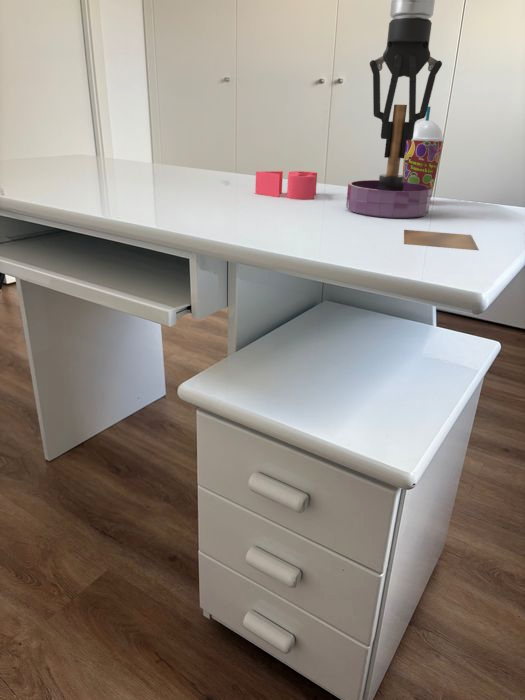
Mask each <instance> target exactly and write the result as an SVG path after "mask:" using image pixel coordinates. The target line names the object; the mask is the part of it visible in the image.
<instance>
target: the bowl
mask: <svg viewBox="0 0 525 700" xmlns="http://www.w3.org/2000/svg"><path fill="white" fill-rule="evenodd" d="M378 184H379V179H362V180H361V179H360V180H353V181H349V182H348V183H347V193H346V201H345V202H346V204H345V208H346V209H347V210H349V212H352V213H355V214H358V215H361V216H367V217H372V218H373V217H374V218H384V219H414V218H420V217H423V218H424V216H426V215H428V214H430V213H429V212H430V206H431V201H432V196H431V194H432V195H433V192H432V187H430V186H427V185H423V184H418V183H411V182H404V187H403V191H388V190H378Z"/></svg>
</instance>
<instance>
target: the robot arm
mask: <svg viewBox="0 0 525 700" xmlns="http://www.w3.org/2000/svg"><path fill="white" fill-rule="evenodd" d="M435 2H436V0H391V3H390V12H389V16H390V18H391V19H392V20H390V22H389V23H388V31H387V41H386V47H385V50H384V51H383V54H382V56H380V57H378V58H376V59H372V60H370V62H369V67H370V70H371V73H372V99H373V101H372V103H373V104H372V105H373V106H372V107H373V108H372V110H373V117H375V118H377V119H379V120H381V128H380V129H381V130H380V131H381V132H380V139H381V140H385V147H384V154H383V155H384V159H386V158H387V159H388V156H389V147H390V138H391V129H392V121H390V117H391V112H392V108H393V103H394V100H395V96H396V95H395V94H396V91H397V85H398V81H399V78H402V77H405V78H408V79H409V80H408V82H409V84H408V121H405V124H404V132H403V141H402V149H401V157H400V159H404V157H405V149H406V141H407V140H412V138H413V134H414V126H415V124H416V123H417V122H418V121H419V120H420V121H421V119H426V114H427V108H428V107H429V104H430V100H431V97H432V92H433V89H434V84H435V81H436V77H437V74H438V72H439V71H440V70H441V68H442V67H443V61H442V60H437V59H436V58H434V57H432V56H431V51H430V41H431V40H430V39H431V33H432V32H431V31H432V25H433V23H432V21H431V20H430V18H432V17H433V16H434V10H435V9H434V8H435V4H436V3H435ZM384 63H385V65H386V67H387V69H388V70H389V72H390V74H391V78H390V82H389V87H388V91H387V96H386V101H385V105H384V109H383V111H381V71H382V70H383V65H384ZM426 64H428V65H427V72H429V74H428V77H427V80H426V85H425V89H424V93H423V97H422V101H421V105H420V109H419V112H417V111H416V109H417V101H416V100H417V76H418V74H419V73H420V71H421V70H422V69H423V68H424V66H426Z"/></svg>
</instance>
